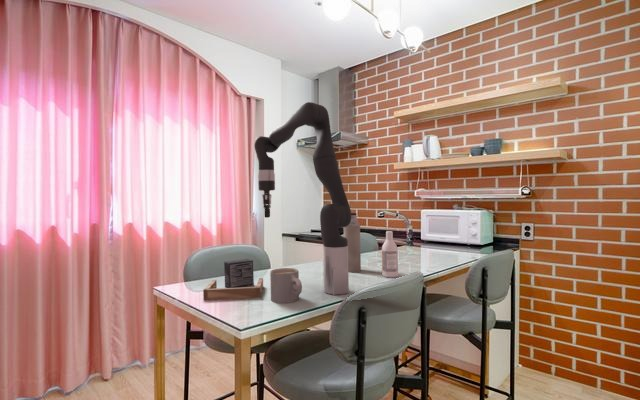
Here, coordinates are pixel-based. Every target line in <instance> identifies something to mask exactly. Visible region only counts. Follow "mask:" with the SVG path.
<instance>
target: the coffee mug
mask: <svg viewBox="0 0 640 400" xmlns="http://www.w3.org/2000/svg"><path fill="white" fill-rule="evenodd" d="M269 274H270V301H271V302H273V303H276V304H287V303H293V302H296V301H298V300H299V299H300V295H301V293H302V290H303V285H302V281H301V279H300V278H299V276H300V275H299V269H298V268H292V267H279V268H275V269H271V270H270V272H269Z"/></svg>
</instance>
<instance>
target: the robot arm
mask: <svg viewBox="0 0 640 400" xmlns="http://www.w3.org/2000/svg"><path fill="white" fill-rule="evenodd" d="M329 116H330V115H329V112H328V110H327V108H326V107H325V106H324V105H322V104H317V103H315V102H312V101H311V102H310V101H309V102H305V103H303V104H302V105H301V106H300V107H299V108H298V109H297V110H296V111H295V112H293V114H291V116H290V117H289V118H287V120H286V121H285V122H284V123H282V124H281V125H279V126H278V127H276V128H275V129H273V130H272V131H270V133H269V135H268V136H262V135H260V136H257V137H256V138H255V141H254V150H255V154H256V159H257V160H258V174H257V175H258V176H257V177H258V178H257V179H258V191H261V192H262V191H263V194H262V204H263V210H264V211H263V212H264V219H265V218H266V219H267V218H270V217H271V206H272V205H271V204H272V194H270V193H271V191H275V190H276V179H275V178H276V176H275V175H276V173H275V159H274V158H272V157H270V156H269V155H268V153H270V154H272V153H275V152H276V151H277V150H278V149H279V148H280V147H281V145H283V144H285V143H287V141H289V140H291V139H292V138H293V136H294V134H295V132H296V130H297V129H299V128H301V127H304V126H308V127H312V128H313V129H314V132H315V137H316V145H315V147H314V150H313V154H312V161H313V166H314V171H315V175H316V176H317V178H318V180H319V182H320V183H321V185H323V187H324V188H325V189H326V191H327V192H328V194H329V196H330V199H331V203H325V205H323V206H322V207H321V211H320V213H319V214H320V215H319V220H320V222H319V223H320V234H321V240H322V244H323V245H322V246H323V248H322V249H323V284H324V285H323V287H324V289H323V292H325V293H326V294H329V295H333V296H335V295H344V294H349V292H350V291H349V290H350V287H349V286H350V285H349V283H350V282H349V280H350V279H349V272H348V240H347V238H345V237H344V236H342V235H341V234H340V232H339V231H340V230H339V228H340V229H341V228H344V227H346V226H348V225H349V224H350V222H351V217H352V216H351V213H352V210H351V207H350V204H349V201H348V198H347V194H346V192H345V188H344V185H343V181H342V178H341V174H340V173H341V172H340V170H339V169H340V168H339V164H338V159H337V155H336V152H335V151H336V150H335V147H334V143H333V138H332V132H331V123H330V122H331V121H330V117H329Z"/></svg>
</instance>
